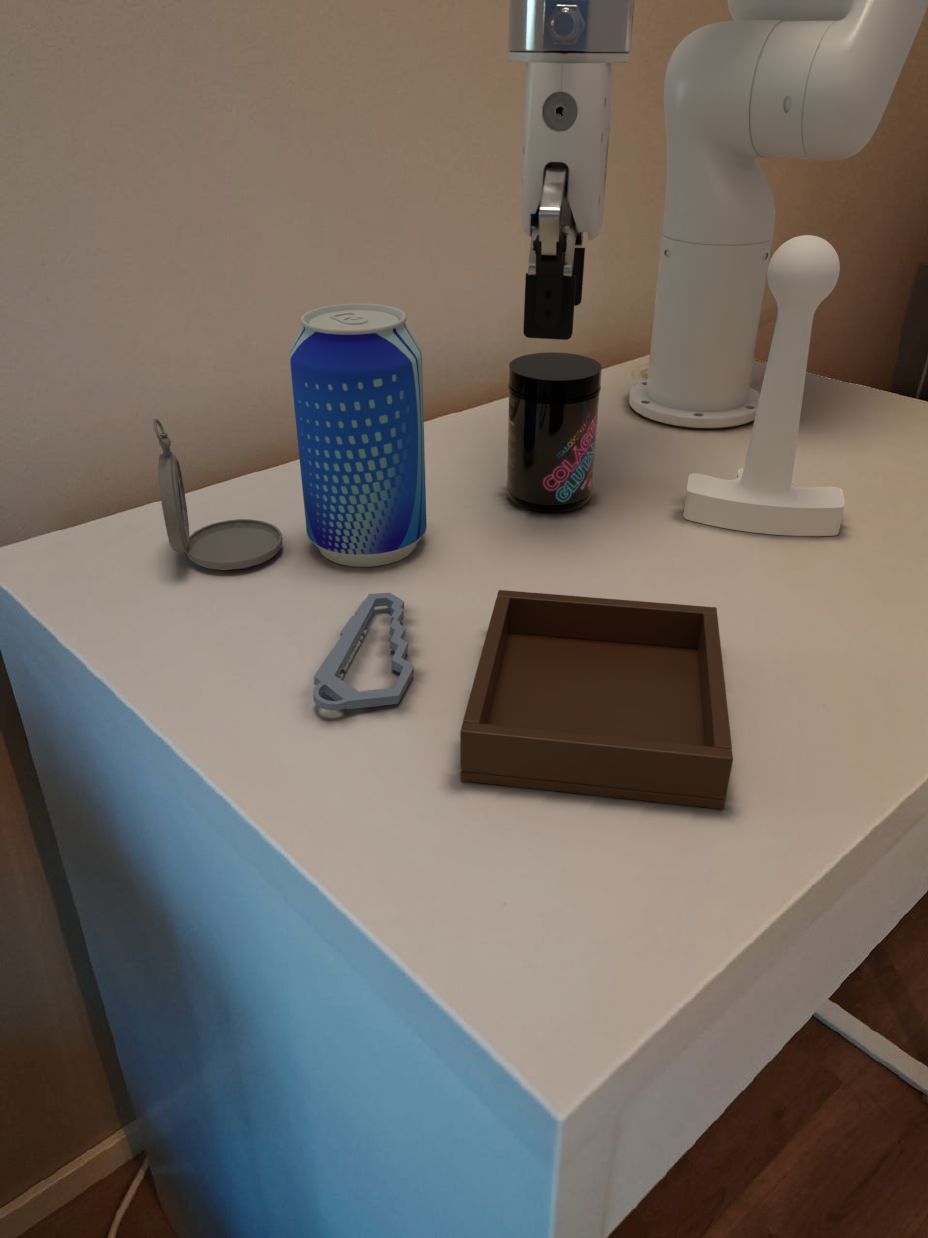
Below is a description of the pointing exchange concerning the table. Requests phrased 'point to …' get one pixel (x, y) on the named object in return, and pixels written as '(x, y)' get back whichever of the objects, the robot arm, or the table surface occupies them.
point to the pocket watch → (215, 542)
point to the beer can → (360, 432)
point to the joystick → (778, 415)
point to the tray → (600, 700)
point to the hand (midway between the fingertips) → (553, 319)
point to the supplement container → (552, 430)
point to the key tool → (343, 655)
